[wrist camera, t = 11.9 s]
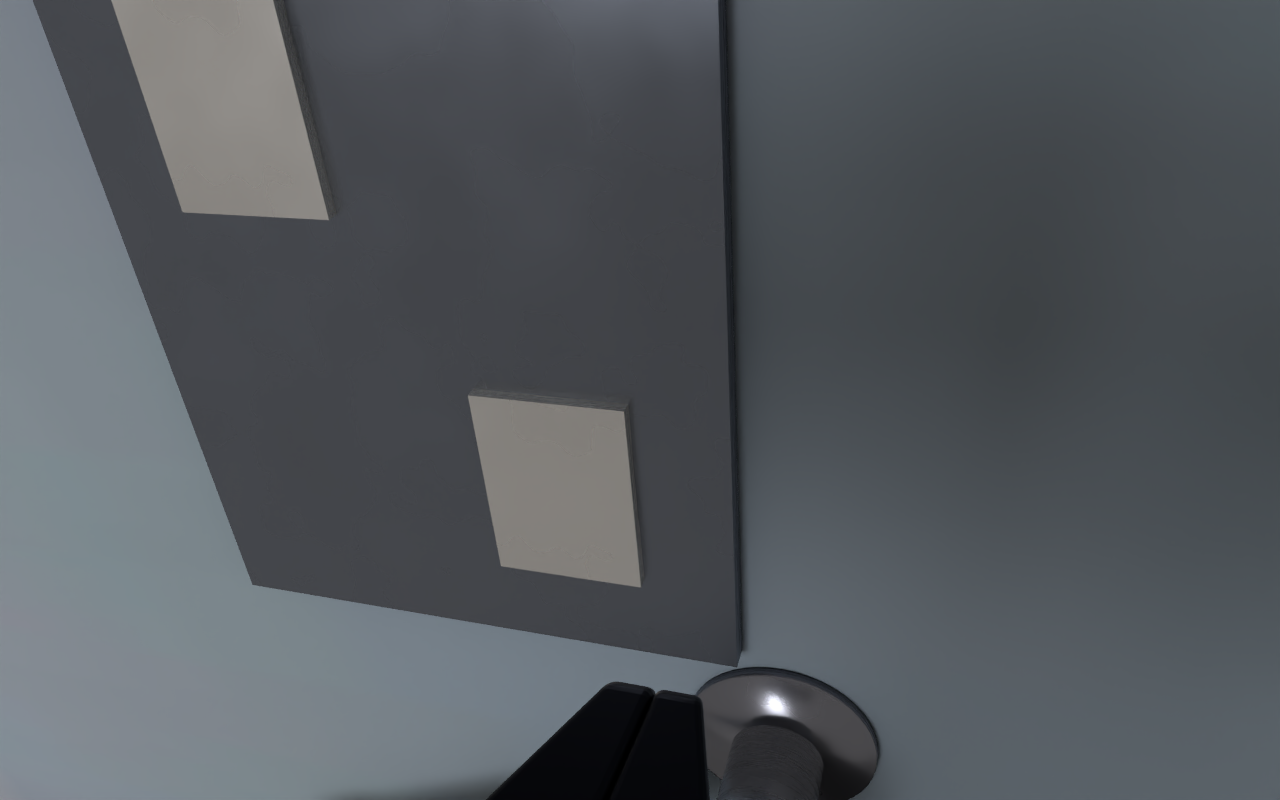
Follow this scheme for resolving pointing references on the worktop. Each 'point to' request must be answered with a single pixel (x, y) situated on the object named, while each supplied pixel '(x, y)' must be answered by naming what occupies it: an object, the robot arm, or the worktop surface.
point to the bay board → (442, 294)
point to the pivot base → (791, 723)
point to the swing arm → (771, 766)
